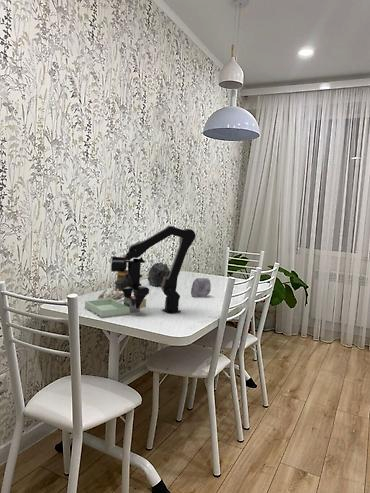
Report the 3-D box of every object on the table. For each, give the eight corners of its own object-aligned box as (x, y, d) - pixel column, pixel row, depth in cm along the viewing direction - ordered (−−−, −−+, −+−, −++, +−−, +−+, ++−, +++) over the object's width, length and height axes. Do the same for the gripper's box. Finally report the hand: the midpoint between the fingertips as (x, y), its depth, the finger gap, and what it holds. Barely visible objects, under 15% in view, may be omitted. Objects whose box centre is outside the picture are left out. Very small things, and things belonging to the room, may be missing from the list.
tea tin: (140, 311, 174) (140, 298, 173) (129, 313, 171) (130, 299, 170) (134, 309, 178) (134, 295, 178) (123, 310, 175) (124, 296, 174)
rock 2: (205, 295, 218) (206, 277, 217) (210, 297, 213) (211, 279, 212) (189, 296, 213) (190, 277, 212) (194, 298, 209) (195, 279, 208)
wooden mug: (136, 292, 214) (138, 260, 212) (112, 290, 215) (114, 258, 213) (139, 289, 223) (141, 258, 221) (117, 287, 224) (118, 257, 222)
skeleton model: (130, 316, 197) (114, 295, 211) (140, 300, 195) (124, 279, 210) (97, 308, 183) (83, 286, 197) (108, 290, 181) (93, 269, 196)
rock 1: (170, 288, 231) (172, 264, 229) (147, 287, 229) (149, 263, 227) (168, 283, 247) (169, 260, 246) (146, 282, 245) (147, 259, 244)
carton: (145, 307, 183) (146, 299, 183) (137, 308, 181) (138, 299, 180) (141, 305, 187) (141, 297, 187) (132, 305, 184) (133, 297, 184)
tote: (129, 314, 168) (129, 307, 168) (101, 318, 160) (102, 310, 160) (110, 305, 182) (111, 298, 182) (84, 307, 174) (85, 301, 174)
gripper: (108, 269, 175) (106, 303, 177) (128, 276, 161) (126, 313, 162) (129, 268, 182) (128, 301, 184) (150, 275, 167) (148, 310, 169)
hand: (132, 306), depth 174 cm, fingers open, 9 cm apart
